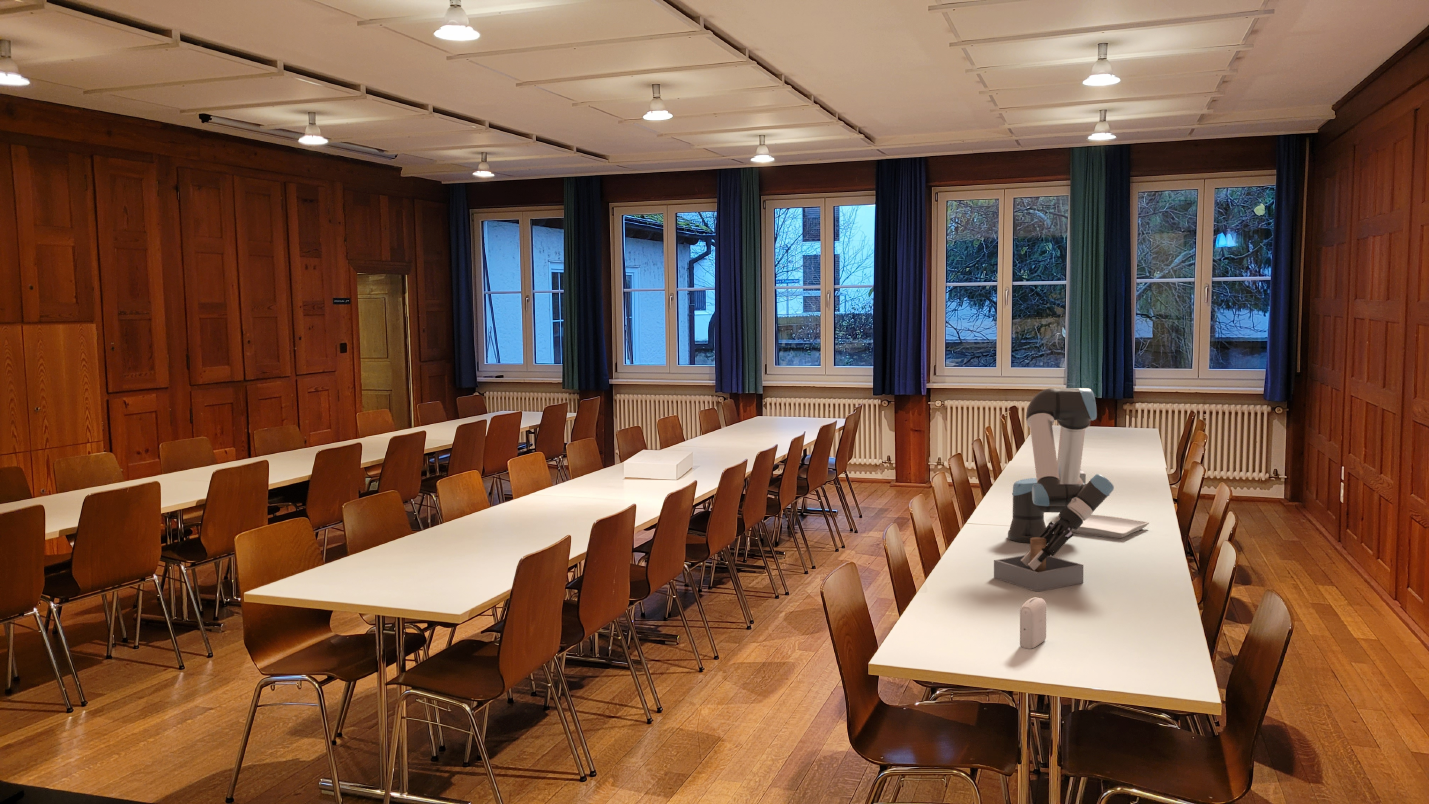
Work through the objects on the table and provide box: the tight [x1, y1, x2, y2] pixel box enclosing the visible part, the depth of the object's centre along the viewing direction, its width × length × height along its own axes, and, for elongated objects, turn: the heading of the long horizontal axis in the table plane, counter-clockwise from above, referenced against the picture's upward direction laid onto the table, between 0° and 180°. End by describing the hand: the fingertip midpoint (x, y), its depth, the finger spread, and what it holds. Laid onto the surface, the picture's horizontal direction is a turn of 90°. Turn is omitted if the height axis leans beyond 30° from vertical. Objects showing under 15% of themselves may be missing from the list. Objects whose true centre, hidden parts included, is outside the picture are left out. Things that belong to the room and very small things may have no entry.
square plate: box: [1071, 514, 1150, 539], centre depth 409 cm, size 27×27×4 cm
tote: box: [993, 554, 1084, 593], centre depth 339 cm, size 20×20×6 cm
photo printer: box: [1019, 597, 1047, 650], centre depth 277 cm, size 10×4×12 cm, turn 140°
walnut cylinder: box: [1029, 537, 1047, 572], centre depth 339 cm, size 5×5×12 cm
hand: (1027, 565), depth 339 cm, fingers closed on walnut cylinder, 5 cm apart
